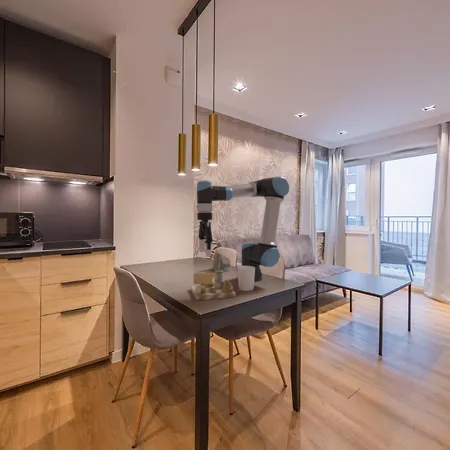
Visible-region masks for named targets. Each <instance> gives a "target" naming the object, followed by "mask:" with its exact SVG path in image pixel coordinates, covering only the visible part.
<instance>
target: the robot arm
mask: <svg viewBox="0 0 450 450" xmlns="http://www.w3.org/2000/svg"><path fill="white" fill-rule="evenodd" d="M289 192H290V184H289V182H288V180H287V179H286V178H285V177H284V176H273V177H267V178H262V179H257V180H254V181H249V182H248V183H242V184H241V183H240V184H232V185H227V186H226V185H225V186H223V185H219V186H218V185H213V182H212V181H211V180H200V181H198V182H197V183H196V203H197V204H196V206H195V207H196V209H197V210H196V211H197V213H196V215H197V217H196V219H197V220H198V221H199V228H198V237H197V238H198V239H199V243H198V244H199V253H204V252H205V257H212V242H213V240H214V239H213V235H212V233H213V232H212V226H211V225H212V223H211V221H212V220H213V213H212V212H213V202H222V201H224V202H227V201H228V202H229V201H231V200H232V199H236V198H243V197H251V198H254V197H255V198H257V197H262V198H264V200H265V205H264V206H265V207H264V214H263V219H262V220H263V221H262V227H261V235H260V240H258V242H248V243H242V244H241V266H253V267H255V277H254V282H259V281H261V280H263V273H262V270H261V269H262V268H260V267H261V266H263V267H266V268H272V267H275V266H276V265H277V264H278V262H279V260H280V256H281V254H280V251H279V249H278V246H277V245H278V244H277V243H276V238H277V237H276V236H277V229H278V223H279V218H280V217H279V215H280V209H281V208H280V207H281V203H282V202H283V201H284V200H285V197H286V196H287V194H289Z"/></svg>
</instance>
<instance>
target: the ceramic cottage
mask: <svg viewBox="0 0 450 450" xmlns="http://www.w3.org/2000/svg"><path fill="white" fill-rule="evenodd" d="M231 269H232V267H231V260H230V258H229V257H227V255H222V253H220V252H218V249H215V252H214V255H213V266H212V270H213V271H214V272H215V271H222V270H223V271H224V273H227V272H231Z"/></svg>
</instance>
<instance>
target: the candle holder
mask: <svg viewBox="0 0 450 450" xmlns="http://www.w3.org/2000/svg"><path fill="white" fill-rule="evenodd" d="M254 277H255V267H253V266H242V265H239V266H237V281H238V284H237V285H238V289H239V290H240V291H242V292H243V291H244V292H251V291H254V289H255V281H254Z"/></svg>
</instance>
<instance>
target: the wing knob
mask: <svg viewBox="0 0 450 450" xmlns="http://www.w3.org/2000/svg"><path fill="white" fill-rule="evenodd" d="M214 273H215V272H194V273H193V284H194V285H201V293H206V284H212V280H213V278H214Z"/></svg>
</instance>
